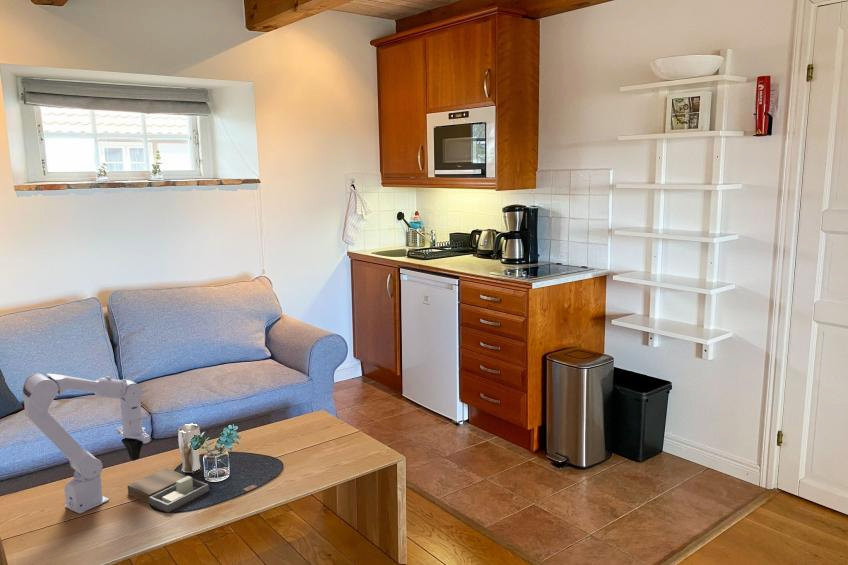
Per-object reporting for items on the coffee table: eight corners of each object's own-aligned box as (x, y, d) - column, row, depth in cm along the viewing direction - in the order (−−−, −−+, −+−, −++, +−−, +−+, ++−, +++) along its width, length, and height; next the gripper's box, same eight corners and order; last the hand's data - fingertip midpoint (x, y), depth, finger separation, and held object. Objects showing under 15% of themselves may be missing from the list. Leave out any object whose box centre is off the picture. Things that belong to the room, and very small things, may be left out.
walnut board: (150, 503, 197) (149, 494, 197) (128, 494, 203) (127, 485, 203) (188, 484, 209) (188, 476, 208) (166, 476, 215) (166, 467, 214)
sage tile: (176, 494, 202) (180, 496, 201) (175, 481, 201) (179, 483, 200) (189, 489, 206) (193, 490, 204) (188, 475, 205) (192, 477, 204)
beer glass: (175, 471, 218) (173, 429, 216) (192, 463, 224) (190, 422, 222) (190, 476, 215) (187, 433, 212) (206, 468, 221) (204, 426, 218)
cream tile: (162, 497, 196) (162, 503, 197) (171, 501, 194) (172, 507, 194) (174, 491, 200) (175, 497, 201) (184, 494, 198) (184, 501, 198)
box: (168, 512, 192) (167, 505, 192) (149, 504, 197) (148, 497, 196) (209, 491, 205) (208, 484, 204) (190, 484, 209) (190, 477, 209)
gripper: (157, 419, 203) (160, 459, 206) (129, 409, 211) (132, 449, 213) (137, 426, 198) (140, 468, 200) (108, 416, 205) (112, 457, 207)
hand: (135, 459), depth 206 cm, fingers closed
